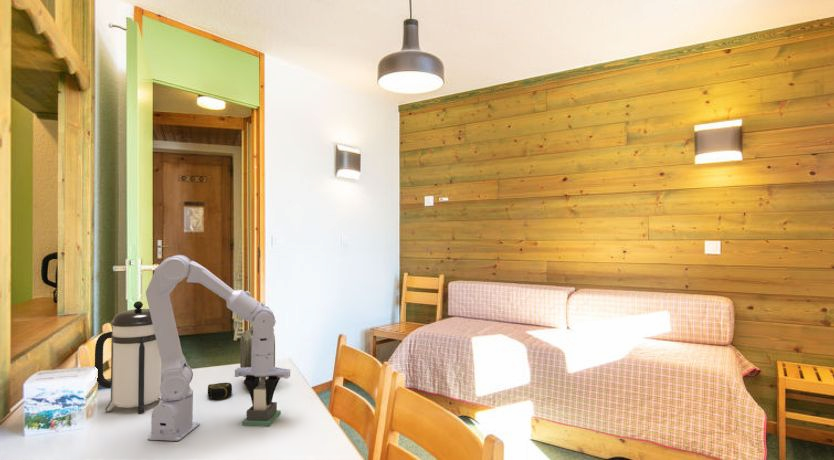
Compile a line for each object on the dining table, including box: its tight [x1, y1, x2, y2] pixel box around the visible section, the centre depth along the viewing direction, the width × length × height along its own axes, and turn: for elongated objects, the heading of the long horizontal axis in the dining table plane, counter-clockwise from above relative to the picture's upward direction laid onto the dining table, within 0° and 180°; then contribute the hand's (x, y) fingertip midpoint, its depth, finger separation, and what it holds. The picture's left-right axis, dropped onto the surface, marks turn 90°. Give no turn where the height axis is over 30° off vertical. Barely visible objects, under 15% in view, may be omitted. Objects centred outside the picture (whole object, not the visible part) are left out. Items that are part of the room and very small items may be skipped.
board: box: [241, 401, 282, 427], centre depth 120 cm, size 8×7×4 cm
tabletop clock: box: [239, 325, 276, 383], centre depth 146 cm, size 14×9×25 cm, turn 27°
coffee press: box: [94, 300, 162, 415], centre depth 128 cm, size 17×16×30 cm
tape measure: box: [207, 382, 233, 400], centre depth 136 cm, size 7×7×4 cm
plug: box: [254, 383, 271, 411], centre depth 120 cm, size 4×3×7 cm
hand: (262, 403), depth 120 cm, fingers closed on plug, 3 cm apart
